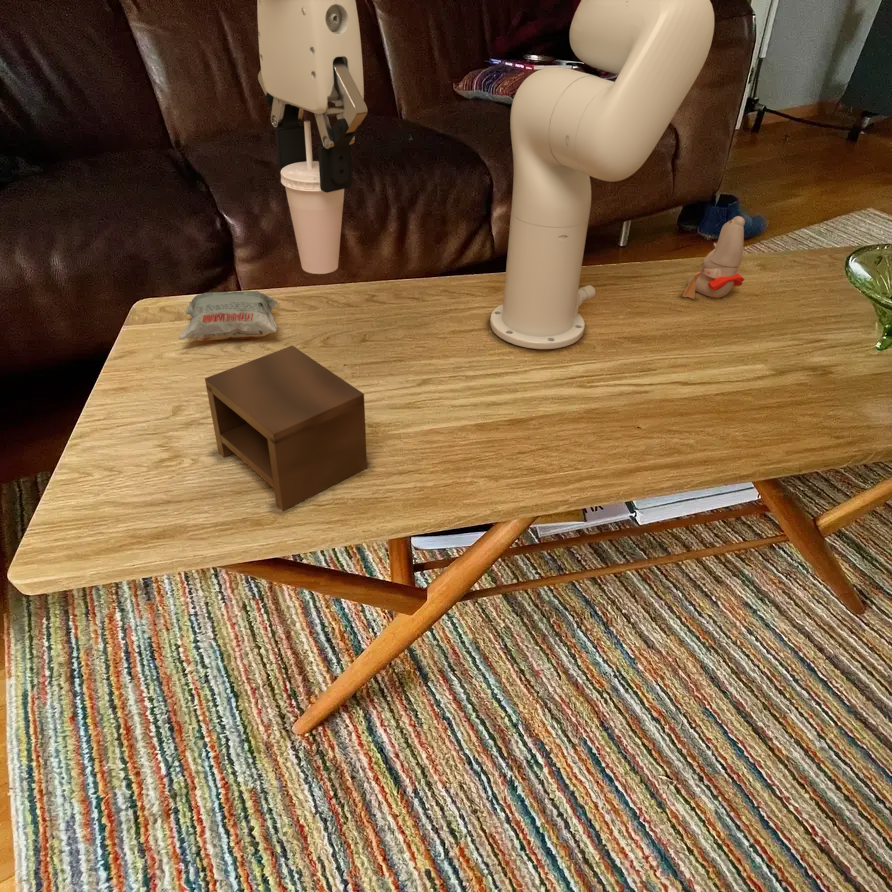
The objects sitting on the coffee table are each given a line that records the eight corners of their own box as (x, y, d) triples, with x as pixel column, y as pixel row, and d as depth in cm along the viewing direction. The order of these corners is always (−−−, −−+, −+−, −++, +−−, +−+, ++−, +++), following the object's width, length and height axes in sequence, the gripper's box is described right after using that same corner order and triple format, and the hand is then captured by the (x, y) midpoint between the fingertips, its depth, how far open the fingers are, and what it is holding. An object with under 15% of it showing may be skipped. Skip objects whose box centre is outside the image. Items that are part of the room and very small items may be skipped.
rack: (299, 416, 84) (292, 345, 78) (367, 468, 77) (364, 393, 72) (218, 452, 78) (204, 378, 73) (283, 511, 71) (273, 434, 66)
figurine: (708, 276, 117) (741, 203, 109) (741, 299, 113) (777, 225, 105) (668, 286, 113) (699, 211, 105) (701, 310, 109) (735, 234, 101)
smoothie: (322, 249, 82) (314, 110, 73) (364, 266, 78) (360, 123, 70) (275, 266, 78) (260, 121, 69) (317, 285, 74) (307, 135, 66)
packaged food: (278, 347, 96) (274, 311, 93) (181, 352, 94) (173, 316, 91) (278, 316, 103) (275, 282, 100) (188, 320, 101) (181, 286, 98)
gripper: (403, -34, 59) (402, 196, 70) (283, -53, 69) (298, 151, 80) (323, -31, 55) (334, 213, 66) (207, -52, 65) (233, 163, 76)
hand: (314, 177), depth 73 cm, fingers closed on smoothie, 6 cm apart
